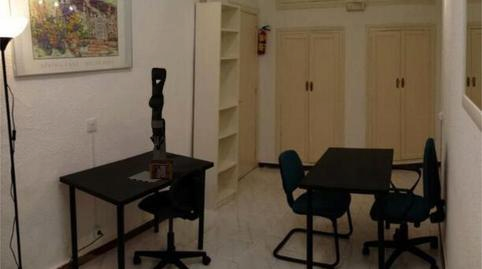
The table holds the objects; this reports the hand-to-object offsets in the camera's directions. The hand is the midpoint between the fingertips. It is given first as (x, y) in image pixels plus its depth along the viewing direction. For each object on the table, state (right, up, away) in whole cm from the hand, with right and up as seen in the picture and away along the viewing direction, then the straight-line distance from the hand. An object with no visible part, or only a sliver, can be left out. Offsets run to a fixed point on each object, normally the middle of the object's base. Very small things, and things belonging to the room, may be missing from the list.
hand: (158, 150), depth 342 cm
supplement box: (+3, -11, +2) cm, 12 cm away
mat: (-5, -19, -6) cm, 20 cm away
